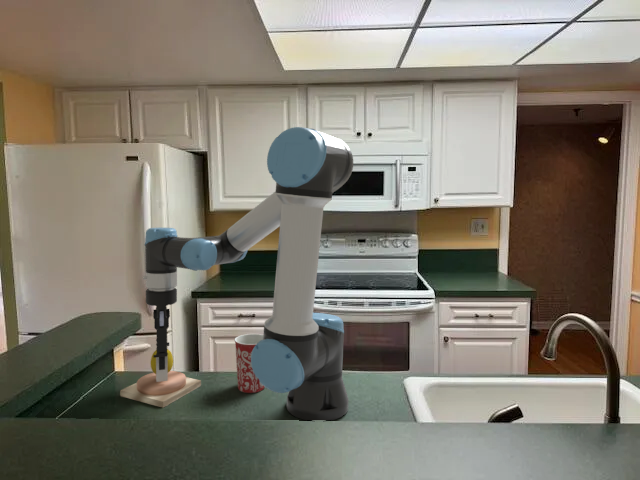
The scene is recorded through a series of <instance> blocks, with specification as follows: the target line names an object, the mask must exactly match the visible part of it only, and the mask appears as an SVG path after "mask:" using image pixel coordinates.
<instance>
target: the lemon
mask: <svg viewBox="0 0 640 480" xmlns="http://www.w3.org/2000/svg"><path fill="white" fill-rule="evenodd" d="M156 353H157V350H156V349H155V351H153V352H152V355H151V357H150V368H151V371H152V373H155V374H156V357H155V358H153V355H156ZM167 353H168V355H167V356H168V373H169V372H170V371H172V369H173V366H174V356H173V353H172V352H171V350H170V349H168V348H167Z"/></svg>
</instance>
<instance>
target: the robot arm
mask: <svg viewBox="0 0 640 480" xmlns="http://www.w3.org/2000/svg"><path fill="white" fill-rule="evenodd" d="M266 157H267V158H266V167H267V171H268V173H269V174H270V175H271V178H272V180H273V181H274V182H275V191H274V192H272V193H271V194H270V195H269V196H268V197H266V198H265V199H264V200H262V201H261V202H260V203H258V205H256V206H255V207H253V209H251V210H250V211H249V212H247V213H246V214H245V215H244V216H242V217H241V218H240V219H239V220H237V221H236V222H235V223H234V224H232V225H231V226H230V227H229V228H228V229H226V230H225V231H224V232H222V233H221V234H219V235H211V236H201V237H200V236H199V237H198V236H197V237H181V236H180V237H179V236H178V232H177V230H176V228H174V227H150V228H148V229H147V230H146V231H145V241H144V253H145V254H144V256H145V260H144V261H145V275H142V276H143V277H142V279H143V280H145V287H146V288H147V289H145V304H146V305H147V306H152V307H153V306H155V309H153V312H152V313H153V314H152V317H153V320H154V322H153V323H154V327H153V328H154V329H155V330H156V338H155V339H156V340H155V341H156V344H155V345H156V348H155V351H156V350H157V353H156V355H153V358H155V357H156V382H160V381H168V356H167V355H168V353H167V349H168V347H169V346H170V342H168V329H169V328H170V324H169V323H170V321H169V320H170V317H171V315H170V314H171V313H170V311H171V310H170V308H167V306H170V305H171V306H172V305H174V304H176V303H177V301H178V289H177V288H176V287H178V268H180V269H187V270H192V271H208V270H210V269H211V268H212V267H214V266H218V265H223V264H233V263H236V262H239V261H241V260H244V258H245V257H246V255H247V253H248V250H250V249H251V248H252V247H254V246H255V245H256V244H258V243H259V242H260V241H262V240H263V239H264V238H266V237H267V236H268V235H270V234H271V233H273V232H274V231H275V230H277V229H278V228H279V233H278V235H279V236H278V245H277V257H276V258H277V259H276V268H275V269H276V270H275V278H274V279H275V281H274V292H273V302H272V303H273V304H272V313H271V314H272V315H271V316H269V317H268V318H267V319H266V320H264V324H263V333H262V335H263V340H261V341H259V342H258V343H257V345H256V346H255V347H254V348H253V350H252V353H251V365H252V369H253V372H254V374H255V376H256V377H257V378H258V379H259V381H260V383H261V384H262V385H263V386H265V389H267V390H269V391H272V392H274V393H278V394H285V393H287V396H286V410H287V411H288V412H289V414H291V415H292V416H293V417H295V418H297V419H299V420H303V421H307V420H331V421H334V420H338V419H340V418H342V417H343V415H344V416H345V415H346V414H347V413H348V411H349V402H350V401H349V396H348V393H347V389H346V387H345V383H344V380H343V361H344V360H343V358H344V337H345V330H344V320H343V319H342V317H339V316H338V315H334V314H329V313H322V312H314V307H315V296H316V295H315V294H316V287H317V285H316V284H317V275H318V268H319V267H318V265H319V258H320V257H319V256H320V247H321V236H322V225H323V218H324V208H325V206H326V205H327V204H329V203H330V202H331V201H332V199H333V193H334V192H336V191H338V190H339V189H340V188H342V187H343V185H345V184H346V182H348V180H349V178H350V177H351V175H352V172H353V168H354V157H353V153H352V150H351V149H350V147H349V145H348V144H347V143H346V142H345V141H343V140H342V138H339V137H338V136H337V137H336V136H335V135H330V134H327V133H324V132H321V131H318V130H316V129H315V128H309V127H301V126H294V127H290V128H287V129H286V130H283V131H282V132H281V133H280V134H278V135H277V137H275V138H274V140H273V141H272V143H271V145H270V146H269V150H268V152H267V156H266Z"/></svg>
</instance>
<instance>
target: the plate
mask: <svg viewBox="0 0 640 480" xmlns="http://www.w3.org/2000/svg"><path fill="white" fill-rule="evenodd" d="M201 386H202V380H201V379H196V378H191V377H187V376H186V374H185V373H183V372H180V371H176V370H170V372H169V373H168V381H160V382H156V374H155V373H154V372H151V373H147V374H145V375H143V376H141V377H140V378H138V379H137V381H136V383H133V384H131V385H128V386H126V387H124V388H122V389H120V392H119V396H120V397H121V398H127V399H130V400H134V401H137V402H141V403H143V404H144V403H145V404H148V405H152V406H155V407H160V408H163V409H164V408H165V407H167V406H169V405H171V404H172V403H174V402H176V401H177V400H179V399H181V398H182V397H184V396H187V394H189V393H191V392H193V391H195V390H196V389H198V388H200V387H201Z"/></svg>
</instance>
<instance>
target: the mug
mask: <svg viewBox="0 0 640 480" xmlns="http://www.w3.org/2000/svg"><path fill="white" fill-rule="evenodd" d="M261 340H263V334H260V333H246V334H240V335H239V336H236V337H235V338H234V343H235V356H236V358H235V362H236V377H237V389H238V391H240V392H242V393H245V394H255V393H258V392H261V391H263V390H264V389H266V387H265V386H263V385H262V384H261V383H260V381H259V379H258V378H257V377H256V376H255V374H254V372H253V369H252V365H251V353H252V350H253V348H254V347H255V346H256V345H257V343H258V342H259V341H261Z"/></svg>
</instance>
